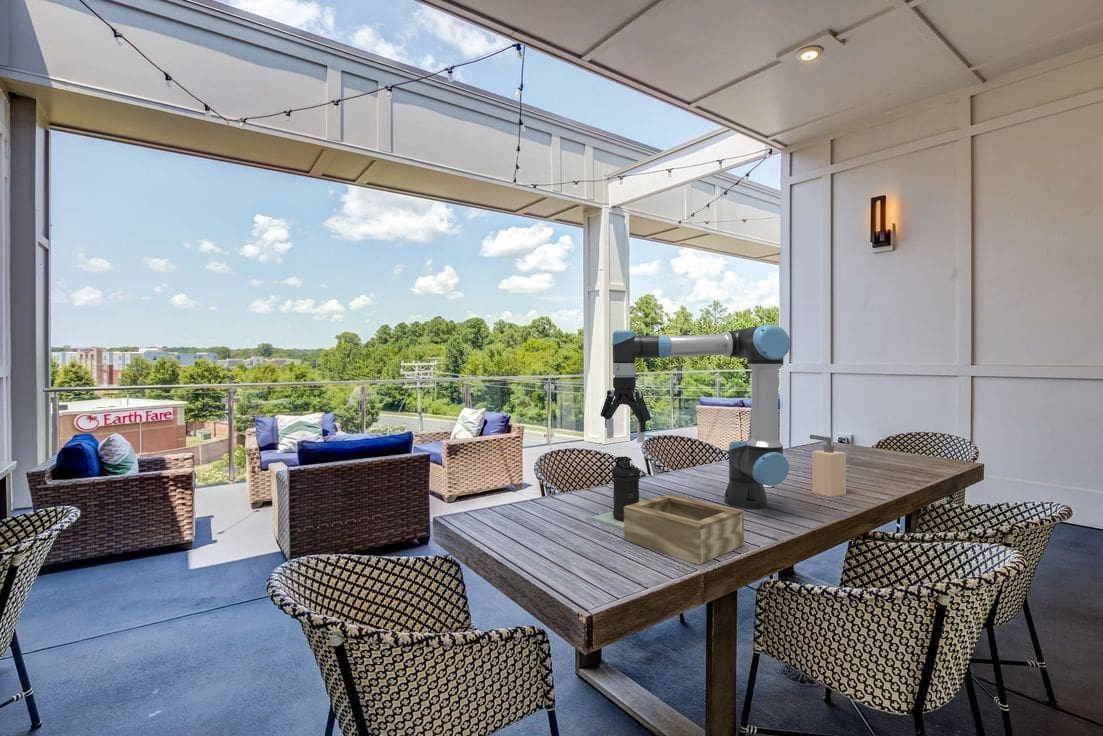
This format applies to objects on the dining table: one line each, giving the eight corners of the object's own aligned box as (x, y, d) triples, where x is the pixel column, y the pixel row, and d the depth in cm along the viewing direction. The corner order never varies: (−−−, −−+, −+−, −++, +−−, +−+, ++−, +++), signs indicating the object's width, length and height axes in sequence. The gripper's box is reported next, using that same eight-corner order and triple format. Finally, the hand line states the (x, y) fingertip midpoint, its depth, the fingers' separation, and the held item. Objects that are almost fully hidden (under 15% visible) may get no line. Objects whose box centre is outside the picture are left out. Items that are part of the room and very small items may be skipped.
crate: (670, 524, 174) (669, 493, 173) (743, 545, 154) (743, 510, 154) (624, 539, 159) (623, 506, 159) (698, 564, 140) (698, 526, 139)
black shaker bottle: (618, 523, 173) (617, 461, 172) (606, 514, 183) (606, 455, 183) (644, 521, 175) (644, 460, 175) (631, 511, 186) (631, 454, 185)
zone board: (623, 510, 190) (623, 508, 190) (659, 520, 178) (659, 518, 178) (591, 519, 180) (591, 517, 180) (627, 530, 168) (627, 528, 168)
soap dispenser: (846, 494, 209) (846, 438, 209) (830, 496, 206) (830, 439, 205) (818, 487, 221) (818, 434, 220) (803, 489, 217) (803, 435, 217)
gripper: (589, 376, 186) (590, 437, 186) (646, 377, 167) (647, 445, 167) (605, 375, 190) (605, 435, 191) (661, 376, 171) (662, 442, 172)
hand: (625, 440), depth 179 cm, fingers open, 13 cm apart
